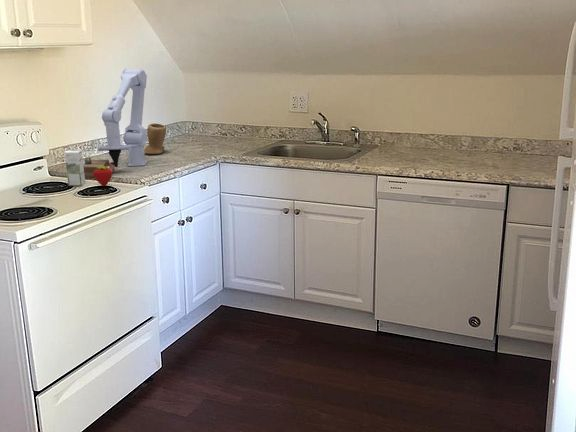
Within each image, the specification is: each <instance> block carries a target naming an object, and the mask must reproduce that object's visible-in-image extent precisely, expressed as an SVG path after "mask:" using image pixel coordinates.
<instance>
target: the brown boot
mask: <svg viewBox="0 0 576 432" xmlns="http://www.w3.org/2000/svg"><path fill="white" fill-rule="evenodd" d="M146 135H147V141H148V145H147V146H146V147H144V153H145V154H148V155H157V154H158V155H159V154H162V153H163V152H164V151H165V149H166V147H165V146H164V141H165V138H166V135H167V126H166V125H164V124H161V123H155V122H153V123H149V124H148V126H147V129H146Z"/></svg>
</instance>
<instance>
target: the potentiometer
mask: <svg viewBox="0 0 576 432" xmlns="http://www.w3.org/2000/svg"><path fill="white" fill-rule="evenodd" d="M91 160H92V159H91V157H90V155H89V154H88V155H87V154H86V155H85V158H84V164H92V162H91Z"/></svg>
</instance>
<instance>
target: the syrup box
mask: <svg viewBox="0 0 576 432" xmlns="http://www.w3.org/2000/svg"><path fill="white" fill-rule="evenodd" d="M83 157H84V156H83V151H82V149H80V148H79V149H66V150H65V151H64V159H65V160H64V161H65V167H66V168H65V169H66V176H67V184H68V186H69V187H78V186H80V187H82V186H83V185H85V184H86V179H85V176H84V167H83V165H84V160H83V159H84V158H83Z"/></svg>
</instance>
